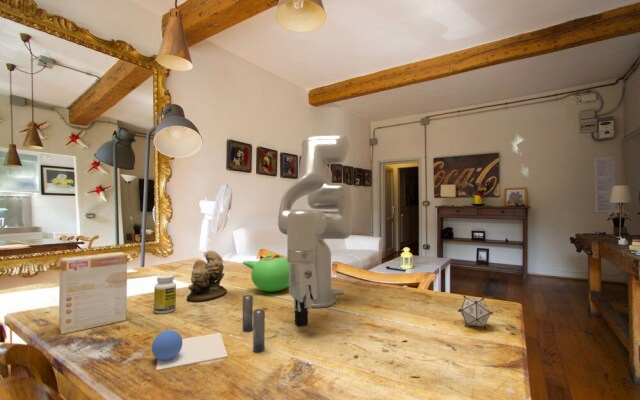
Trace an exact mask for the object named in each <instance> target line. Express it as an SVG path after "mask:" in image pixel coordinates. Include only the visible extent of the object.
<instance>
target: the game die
mask: <svg viewBox="0 0 640 400" xmlns="http://www.w3.org/2000/svg"><path fill="white" fill-rule="evenodd" d="M463 298H464V300H463V302H462V305H461V308H458V309H457V312H458V313H460V314H461V316H462V318H463V321H464V322H465V325H464V327H465V328H467V327H468V326H474V327H475V326H476V327H483V328H484V330H487V326H486V325H487V322H488V320H489V318H490V315H492V314H494V312H493V311H490V309H489V308H488V305H486V303H485V301H484V300H485V296H483V297H482V298H471V297H470V298H469V297H467V296H466V295H463Z"/></svg>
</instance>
